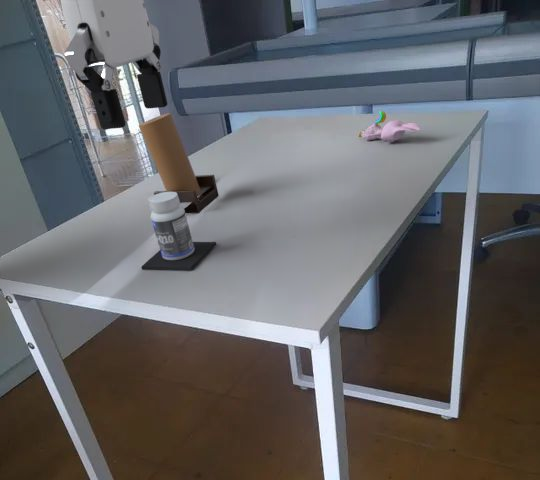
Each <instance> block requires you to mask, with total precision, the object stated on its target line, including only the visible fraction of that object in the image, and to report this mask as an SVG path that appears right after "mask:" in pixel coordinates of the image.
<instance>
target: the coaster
mask: <svg viewBox="0 0 540 480" xmlns="http://www.w3.org/2000/svg"><path fill="white" fill-rule="evenodd" d="M193 245H194V252H193V253H192V254H191V255H189V256H188V257H186V258H183V259H180V260H173V261H172V260H166V259H164V258H163V257H162V254H161V251H160V249H159V250H158V251H157V252H156V253H155V254H153V256H151V257H150V258H149V259H148V260H147V261H146V262H144V263H143V265H141V269H142V270H147V271H149V270H151V271H153V270H154V271H185V272H186V271H189V272H191V271H193V270H194V269H195V268H196V267H197V266H198V265H199V264H200V263H201V262H202V261H203V259H204V258H205V257H206V256H207V255H208V254H209V253H211V251H212V250H213V249H214V248H215V247H216V246H217V242H216V241H193Z"/></svg>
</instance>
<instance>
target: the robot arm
mask: <svg viewBox="0 0 540 480" xmlns="http://www.w3.org/2000/svg"><path fill="white" fill-rule="evenodd" d="M59 1H60V6H61V10H62V14H63V19H64V23H65V26H66V31H67V34H68V37H69V44H68V46H67V47H66V49H65V51H64V58H65V60H66V61H67V63H68V64H69V66H70V67H71V69H72V70H73V72H74V74H75V78H76V80H78V81H79V82H80V83H81V84H82V85H83V86H84V90H85V91H86V92H87V94H90V96H91V99H92V102H93V107H94V109H95V112H96V113H95V114H96V117H97V120H98V123H99V126H100V128H101V129H103V130H111V129H112V130H113V129H122V128H125V127H126V124H127V123H126V119H125V115H124V112H123V108H122V105H121V102H120V101H121V100H120V98H119V95H118V94H119V93H118V91H117V88H112V85H113V79H114V78H113V77H114V70H115V68H119V67H123V66H126V65H129V64H133V66H134V67H135V68H136V69H137V71H138V72H139V73H138V74H136V79H137V82H138V86H139V91H140V93H141V94H140V95H141V98H142V103H143V106H144V107H145V109H147V110H148V109H159V108H165V107H167V106H168V98H167V95H166V91H165V85H164V82H163V78H162V75H161V74H162V73H161V71H162V63H161V61H160V59H161V51H162V50H161V48H160V31H159V28H158V27H157V26H156V25H154V24H152V23H151V22H150V20H149V15H148V12H147V9H146V8H147V7H146V5H145V1H144V0H59ZM98 72H99V73H100V72H101V75H100V74H99V73H98Z"/></svg>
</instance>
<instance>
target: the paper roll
mask: <svg viewBox="0 0 540 480" xmlns="http://www.w3.org/2000/svg"><path fill="white" fill-rule="evenodd" d="M138 128H139V130H140V132H141V136H142V137H143V139H144V142H145V144H146V147H147V149H148V151H149V153H150V156H151V158H152V161H153V163H154V165H155V168H156V170H157V173H158V175H159V177H160V179H161V181H162V185H163V186H164V189H165V191H175V190H195V191H196V195H197V199H198V200H199V199H200V198H202V196H203V193H201V192H202V189H201V187H199V184H198V182H197V179H196V176H197V175H196V173H195V171H194V168H193V166H192V164H191V161H190V158H189V156H188V153H187V151H186V149H185V146H184V143H183V141H182V138H181V136H180V133H179V131H178V127H177V126H176V123H175V121H174V118H173V116H172V113H171V112H167V113H164V114H161V115H158V116H156V117H153V118H150V119H148V120H146V121H144V122H142V123H140V124H138ZM199 194H200V195H199ZM198 195H199V196H198Z"/></svg>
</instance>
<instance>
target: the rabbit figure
mask: <svg viewBox="0 0 540 480" xmlns="http://www.w3.org/2000/svg"><path fill="white" fill-rule="evenodd" d="M378 113H379V116H378V117H377V118H376V119H375V121H374V123H373V124H372V125H370V126H367V127H366V129H365V130H363V129H361V130H360V129H358V132H357V139H360V138H362V137H363V140H365V141H368V142H369V141H373V140H377V139H381V141H383V142H387V143H388V144H391V143H395V142H396V141H398V140H400V139H402V138H403V137H404V134H405V132H409V133H413V134H415V133H416V131H422V128H421V125H419V124H418V122H417V123H416V122H408V123H405V122H403V121H400V120H397V119H396V120H393V119H392V120H390V121H388V122H387V123H386V124H385V125H384V126H383V128H382V127H381V125H380V124H383V123H384V122H385V121H386V119H387V114H386V113H385V111H383V110H379V111H378Z"/></svg>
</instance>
